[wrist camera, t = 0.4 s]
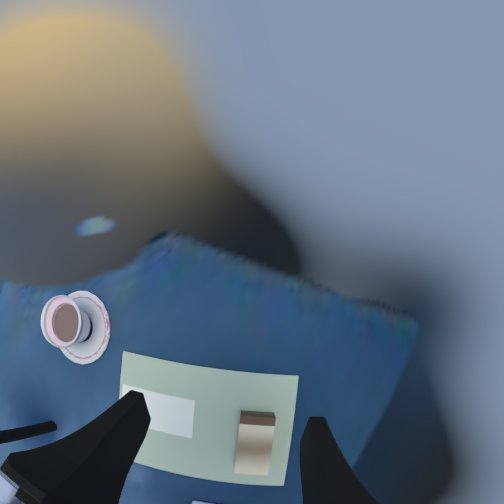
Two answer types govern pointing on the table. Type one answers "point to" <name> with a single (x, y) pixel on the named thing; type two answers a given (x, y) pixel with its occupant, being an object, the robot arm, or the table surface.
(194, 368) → the mat
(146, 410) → the robot arm
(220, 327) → the table surface
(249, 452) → the brown-topped white block
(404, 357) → the table surface
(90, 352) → the teacup
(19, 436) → the solar garden light
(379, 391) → the table surface
